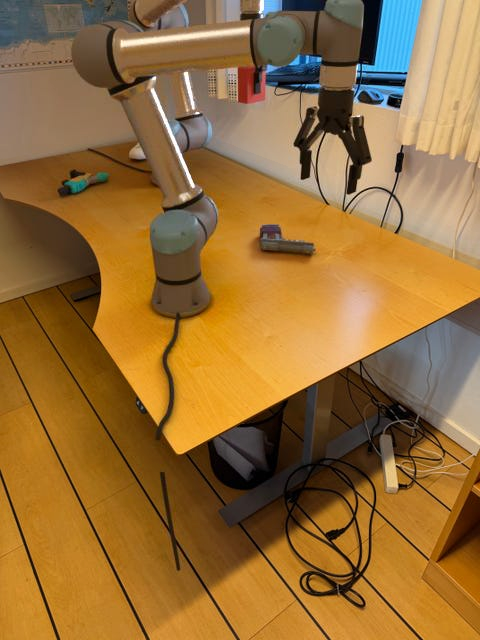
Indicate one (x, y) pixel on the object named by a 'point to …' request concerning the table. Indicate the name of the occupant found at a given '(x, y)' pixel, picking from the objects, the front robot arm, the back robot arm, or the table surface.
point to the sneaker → (137, 153)
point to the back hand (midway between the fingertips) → (251, 92)
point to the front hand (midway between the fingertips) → (327, 185)
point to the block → (249, 85)
